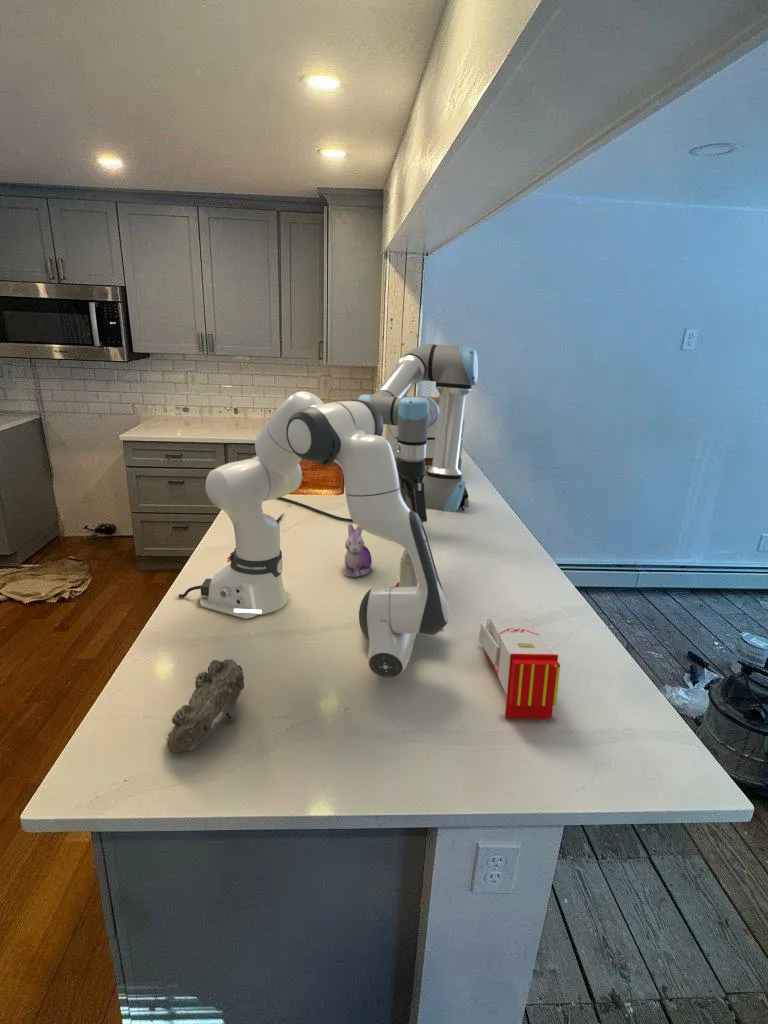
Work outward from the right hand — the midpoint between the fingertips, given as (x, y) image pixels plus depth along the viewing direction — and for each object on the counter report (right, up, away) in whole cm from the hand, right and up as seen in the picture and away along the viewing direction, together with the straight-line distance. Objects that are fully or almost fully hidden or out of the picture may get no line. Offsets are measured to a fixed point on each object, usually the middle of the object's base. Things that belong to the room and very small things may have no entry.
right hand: (407, 533), depth 154 cm
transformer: (+11, +25, +121) cm, 123 cm away
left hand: (0, -16, -12) cm, 20 cm away
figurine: (-14, -12, +16) cm, 24 cm away
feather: (-44, +4, +56) cm, 71 cm away
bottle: (-1, -22, -10) cm, 24 cm away
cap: (-1, -15, +5) cm, 16 cm away
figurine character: (+24, +8, +76) cm, 80 cm away
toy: (+22, -30, -30) cm, 48 cm away
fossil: (-39, -33, -46) cm, 69 cm away
